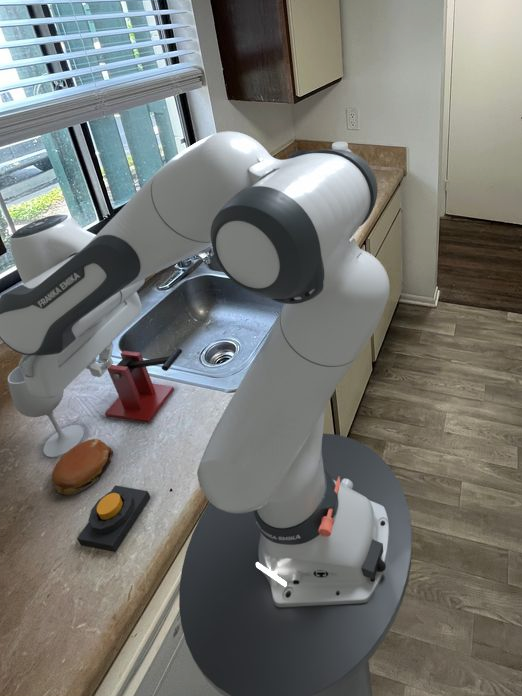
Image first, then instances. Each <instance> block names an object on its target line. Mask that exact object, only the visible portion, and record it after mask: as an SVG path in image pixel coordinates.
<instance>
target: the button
mask: <svg viewBox="0 0 522 696" xmlns="http://www.w3.org/2000/svg"><path fill="white" fill-rule="evenodd" d="M104 496H105V495H104ZM122 504H123V502H122V500H121V498H120V496H119V494H117V493H111V494H108V495H107V496H105V497H104V498H103V499H102V500H101V501H100V502H99V503H98V505H97V513H98V515H99V517H100V518H101V519H102V520H108V519H111V518H113V517H114V516H115V515H117V514H118V512H119V511H120V510H121V508H122Z"/></svg>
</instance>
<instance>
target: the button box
mask: <svg viewBox="0 0 522 696" xmlns="http://www.w3.org/2000/svg"><path fill="white" fill-rule="evenodd" d="M111 493H117V494H119V496H120V498H121V500H122V502H123V504H122V508H121V510H120V511H119V512H118V514H117V515H115V516H114V517H113V518H111V519H108V520H102V519H101V518H100V517H99V515H98V513H97V505H98V503H99V502H100V501H101V500H102V499H103V498H104V497H105V496H107V495H108V494H111ZM150 500H151V496H150V493H149V491H148V490H145V489H138V488H132V487H127V486H122V485H116V484H115V485H114V486H113V488H112V489H111V490H110V491H109V492H107V493H106V494H104V495H103V496H102V497H101V498H99V499H97V501H96V503H95V504H94V506H92V508H91V510H90V514H89V517H88V522H87V524H86V525H85V526H84V528H83V529H82V530H81V532H80V533H79V534H78V536H77V537H76V540H77V542H78V543H79V545H80V546H82V547H87V548H90V549H91V548H93V549H97V550H101V551H107V552H112V553H117V551H118V550H119V548H120V547H121V545H122V544H123V542H124V540H125V539H126V537H127V535H128V534H129V532H130V531H131V529H132V528H133V527H134V525H135V523H136V522H137V520H138V519H139V517H140V516H141V514H142V512H143V511H144V509H145V508H146V506H147V504H148V503H149V501H150Z"/></svg>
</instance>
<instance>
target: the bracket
mask: <svg viewBox="0 0 522 696" xmlns="http://www.w3.org/2000/svg"><path fill="white" fill-rule="evenodd" d="M120 356H121V360H122V359H127V358H132V359H133V360H134V362H135V361H142V360H144V358H143V355H142V353H141V352H136V351H129V350H123V351H122V352H120ZM106 371H107V372H108V374H109V377H110V379H111V381H112V384H113V386H114V388H115V391H116V393H117V395H118V397H117V398H115V401H113V403H112V404H111V405H110V406H109V408H107V409H106V411H105V412H104V416H105V418H111V419H117V420H122V421H123V420H124V421H131V422H137V423H143V424H150V423H151V422H152V421H153V419H154V418H155V416H156V415H157V414H158V412H159V411H160V410H161V408H162V407H163V406H164V404H165V403H166V402H167V401H168V399H169V398H170V396H171V395H172V394H173V392H174V391H175V388H174V386H173V385H167V384H166V385H165V384H158V383H153V382H152V379H151V376H150V374H149V371H148V368H147V367H140V368H135V369H134V370H133V371H132V372H131V373H130V371H129V368H128V367H125V366H117V364H112V365H111V366H110V367H109V368H108V369H107V370H106Z"/></svg>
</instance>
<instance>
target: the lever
mask: <svg viewBox="0 0 522 696" xmlns="http://www.w3.org/2000/svg"><path fill="white" fill-rule="evenodd" d="M182 353H183V350H182V349H181V348H178V347H177V348H175V350H174V351H173V352H172V354H171V355H169V356H162V357H156V358H149V359H143V360H142V361H135V362H134V360H133V359H132V358H127V359H122V358H121V360H120V361H119V362H118V363H117V364H116V365H117V366H125V367H128V368H129V371H130V373H131V372H132V371H133V370H134V369H135V368H140V367H146V368H147V367H154V366H160V365H161V369H162V370H163V371H164V372H168V371H169V369H170V368H171V367H172V366H173V364H174V363H175V362H176V360H178V358H179V357H180V355H182Z"/></svg>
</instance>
